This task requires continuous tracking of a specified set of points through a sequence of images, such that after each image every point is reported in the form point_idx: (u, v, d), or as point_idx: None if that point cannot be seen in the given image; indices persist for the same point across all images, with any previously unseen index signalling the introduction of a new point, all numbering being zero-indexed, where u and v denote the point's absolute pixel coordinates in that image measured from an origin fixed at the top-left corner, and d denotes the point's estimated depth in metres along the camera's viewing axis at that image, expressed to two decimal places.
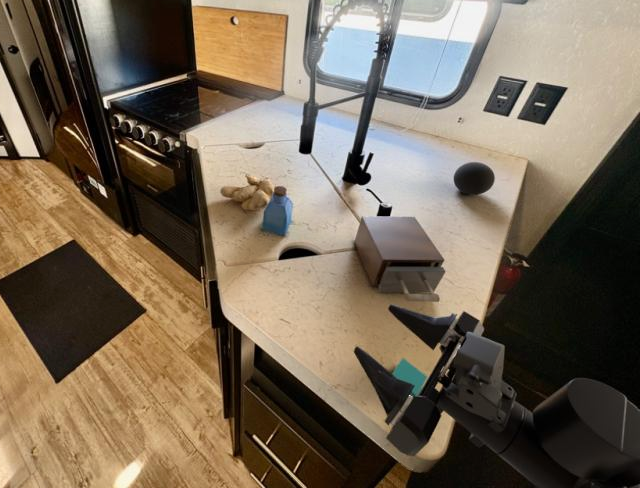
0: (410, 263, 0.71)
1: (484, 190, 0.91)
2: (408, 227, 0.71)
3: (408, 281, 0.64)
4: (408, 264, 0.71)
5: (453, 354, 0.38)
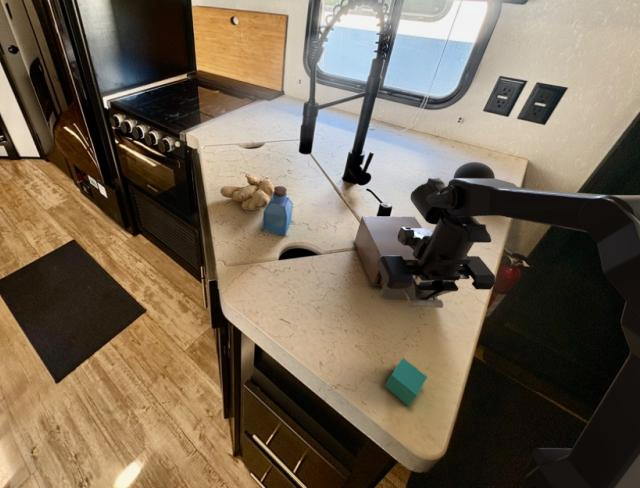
0: None
1: None
2: None
3: (411, 286, 0.62)
4: None
5: None
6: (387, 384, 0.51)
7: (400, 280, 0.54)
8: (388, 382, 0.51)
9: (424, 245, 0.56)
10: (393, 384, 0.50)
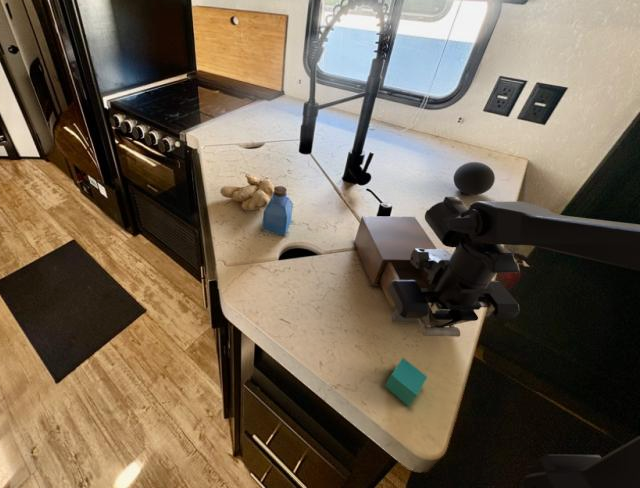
0: None
1: (484, 190, 0.91)
2: (408, 227, 0.71)
3: None
4: None
5: None
6: (387, 384, 0.51)
7: (415, 309, 0.49)
8: (388, 382, 0.51)
9: (440, 270, 0.51)
10: (393, 384, 0.50)
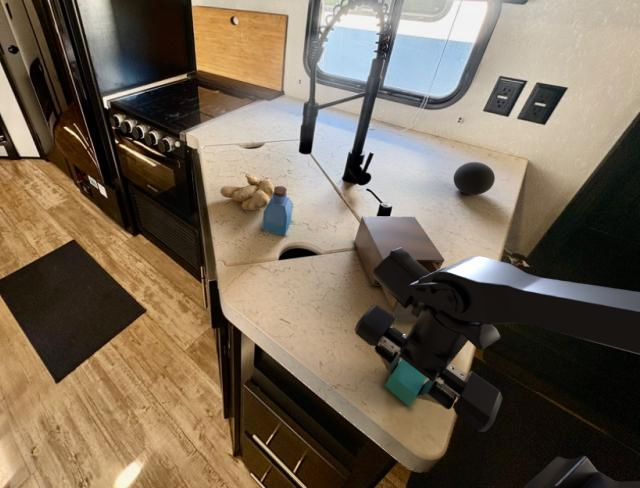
0: None
1: (484, 190, 0.91)
2: (408, 227, 0.71)
3: None
4: None
5: None
6: (387, 384, 0.51)
7: (366, 331, 0.49)
8: (388, 382, 0.51)
9: None
10: (393, 384, 0.50)
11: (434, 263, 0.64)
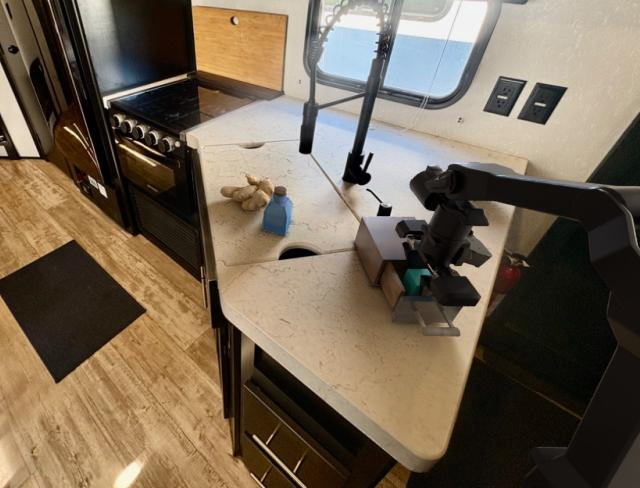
0: None
1: None
2: None
3: (424, 311, 0.58)
4: None
5: (450, 268, 0.55)
6: (403, 279, 0.63)
7: (401, 226, 0.63)
8: (404, 277, 0.63)
9: None
10: (406, 278, 0.62)
11: None
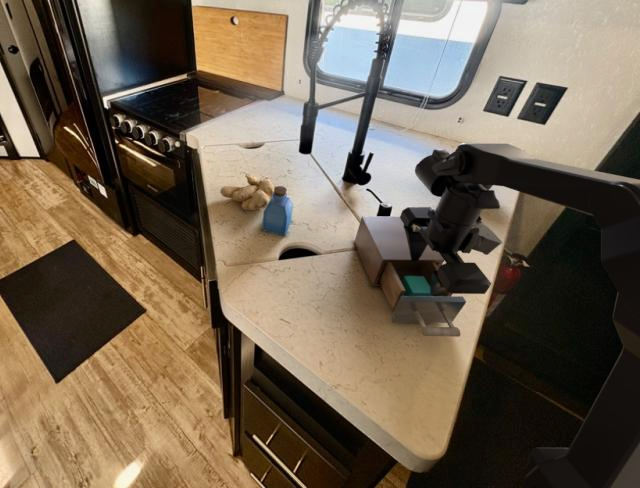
0: None
1: None
2: None
3: (424, 311, 0.58)
4: None
5: (458, 255, 0.53)
6: None
7: (406, 213, 0.61)
8: None
9: None
10: (403, 285, 0.63)
11: (434, 263, 0.64)
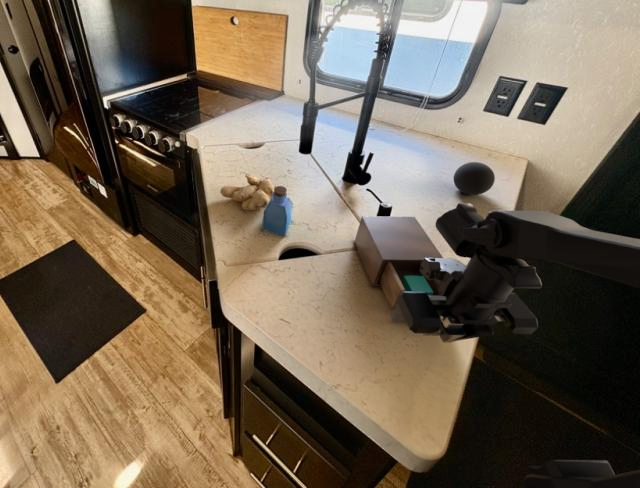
0: None
1: (484, 190, 0.91)
2: (408, 227, 0.71)
3: None
4: None
5: None
6: None
7: (426, 324, 0.46)
8: None
9: (453, 281, 0.48)
10: (403, 284, 0.63)
11: None
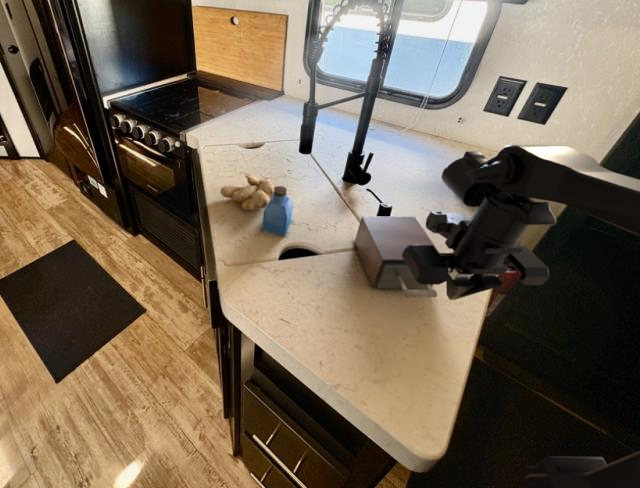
0: None
1: None
2: (408, 227, 0.71)
3: (406, 277, 0.64)
4: None
5: None
6: None
7: (433, 274, 0.44)
8: None
9: (461, 232, 0.46)
10: None
11: None
